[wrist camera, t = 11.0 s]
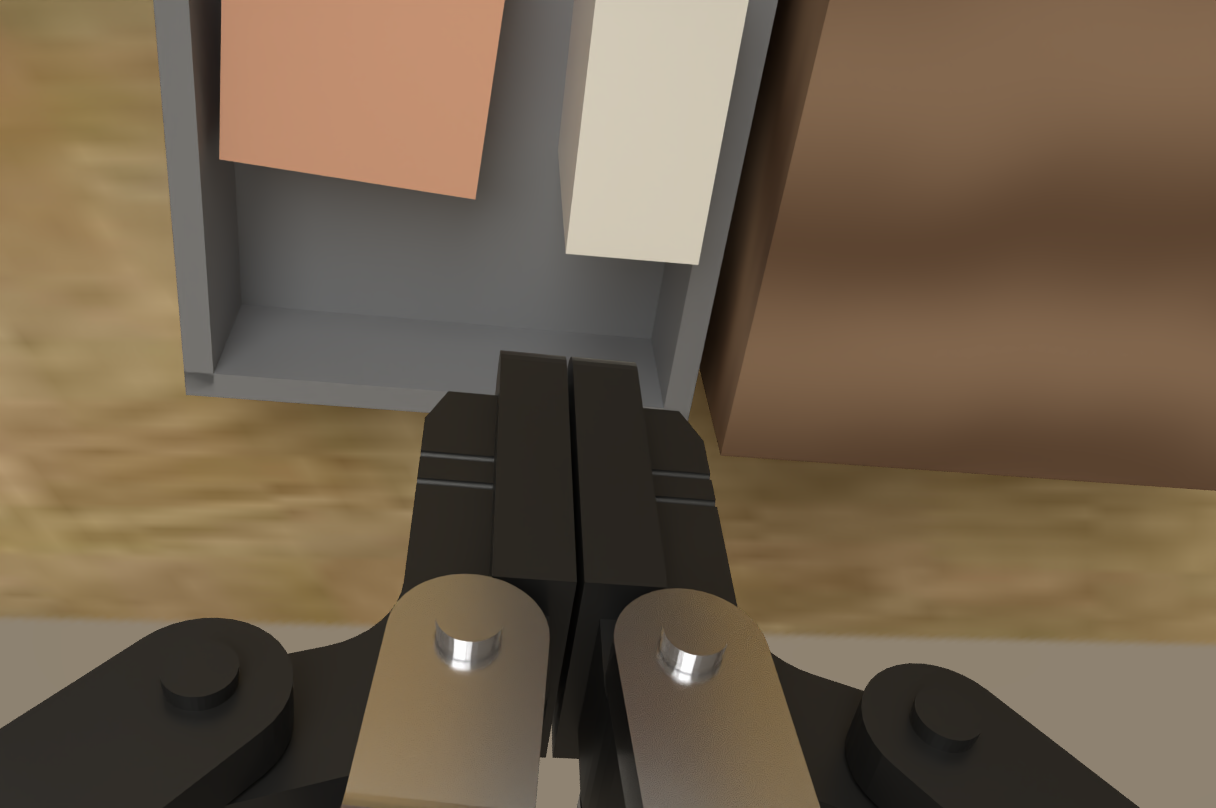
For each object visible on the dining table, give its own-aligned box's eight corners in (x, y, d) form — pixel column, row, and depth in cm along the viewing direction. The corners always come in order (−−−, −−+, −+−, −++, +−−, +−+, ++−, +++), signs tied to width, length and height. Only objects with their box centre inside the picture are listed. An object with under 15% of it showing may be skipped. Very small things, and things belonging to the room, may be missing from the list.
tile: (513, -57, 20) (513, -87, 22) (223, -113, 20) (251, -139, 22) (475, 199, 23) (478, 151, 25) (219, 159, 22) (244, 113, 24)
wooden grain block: (813, -254, 22) (882, -223, 17) (1429, -158, 23) (1625, -109, 19) (691, 335, 29) (720, 455, 25) (1169, 376, 30) (1270, 494, 26)
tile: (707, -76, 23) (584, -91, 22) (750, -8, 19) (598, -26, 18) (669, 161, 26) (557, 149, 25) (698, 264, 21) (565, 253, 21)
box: (178, -386, 20) (121, -387, 17) (793, -288, 21) (836, -274, 18) (220, 313, 28) (186, 394, 25) (669, 351, 29) (685, 432, 26)
